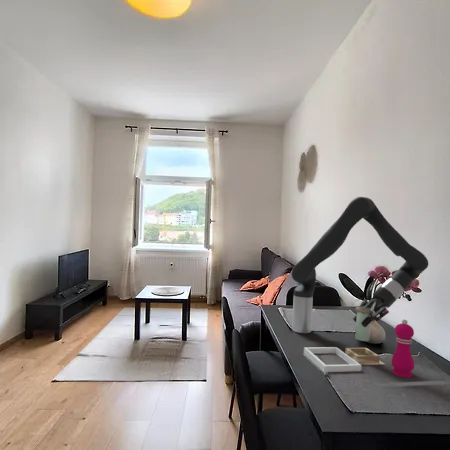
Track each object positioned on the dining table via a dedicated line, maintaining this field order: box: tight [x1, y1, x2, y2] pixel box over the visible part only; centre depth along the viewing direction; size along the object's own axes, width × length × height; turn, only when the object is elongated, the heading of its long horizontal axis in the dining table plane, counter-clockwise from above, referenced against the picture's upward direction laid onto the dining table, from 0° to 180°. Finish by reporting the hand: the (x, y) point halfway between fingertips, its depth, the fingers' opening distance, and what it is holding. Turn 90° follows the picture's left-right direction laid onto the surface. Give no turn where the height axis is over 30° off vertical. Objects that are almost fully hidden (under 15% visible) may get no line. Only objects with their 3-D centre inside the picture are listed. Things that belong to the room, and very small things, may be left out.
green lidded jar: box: [354, 305, 371, 342], centre depth 134 cm, size 6×6×12 cm
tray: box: [303, 346, 362, 376], centre depth 130 cm, size 18×14×3 cm
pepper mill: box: [390, 319, 415, 378], centre depth 122 cm, size 7×7×20 cm
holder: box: [344, 347, 385, 366], centre depth 134 cm, size 12×12×4 cm
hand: (358, 323), depth 134 cm, fingers closed on green lidded jar, 5 cm apart
